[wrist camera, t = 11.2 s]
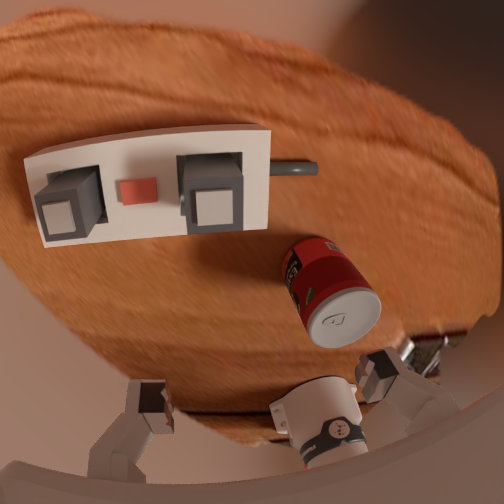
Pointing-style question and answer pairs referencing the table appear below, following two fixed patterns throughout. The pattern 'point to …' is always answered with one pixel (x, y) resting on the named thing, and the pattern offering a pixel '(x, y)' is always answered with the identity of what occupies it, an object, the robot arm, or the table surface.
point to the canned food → (329, 293)
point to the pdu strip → (156, 163)
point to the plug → (213, 193)
